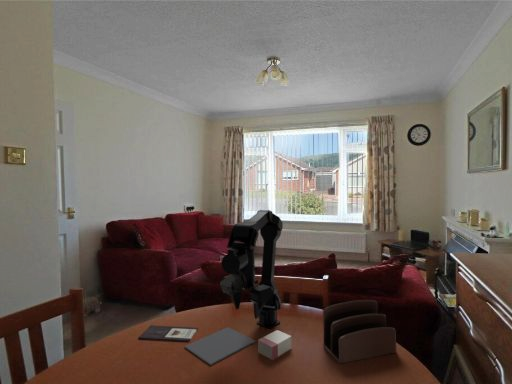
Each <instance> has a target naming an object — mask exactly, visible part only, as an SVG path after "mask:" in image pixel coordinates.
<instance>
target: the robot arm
mask: <svg viewBox="0 0 512 384" xmlns="http://www.w3.org/2000/svg"><path fill="white" fill-rule="evenodd" d="M283 227H284V226H283V221H282V220H281V217H280V216H278V215H276V214H274V213H273V211H272V210H270V209H259V210H257V212H256V213H255V214H254V215H253V216H251V217H250V218H249V219H248V220H246V221H241V222H238V223H235V224H234V225H233V226H232V228H231V231H230V234H229V238H228V242H227V246H226V248H227V254H225V255H224V256H223V257H222V259H221V267H222V270H223V271H224V272H225V273H227V274H229V275H226V276H223V277H222V279H221V280H220V287H221V290H222V292H223V294H226V295H228V296H230V297H231V300H232V303H233V305H234V308H235V310H238V309H240V307H241V306H240V305H241V300H242V293H243V290H244V291H245V290H246V291H248V292H249V296H250V299H249V300H250V301H251V302H252V304H253V316H254V319H255V320H256V319H258V320H257V321H256V323H257V324H258V325H259V326H263V327H264V328H266V329H271V328H273V327H275V326H277V325H279V324H281V320H278V310H281V309H282V300H281V297H280V295H279V294H278V287H277V285H276V283H275V281H274V280H275V278H274V277H275V264H276V263H275V262H276V250H277V242H278V240H279V239H280V237H281V235H282V231H283ZM259 234H260V236H261V238H262V240H263V246H262V248H263V249H262V261H261V262H262V264H261V275H260V276H261V277H260V279H261V280H260V282H259V280H258V279H256V271H258V266H256V265H255V264H256V263H255V262H256V261H255V260H256V259H255V247H256V244H257V241H258V237H259Z"/></svg>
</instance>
